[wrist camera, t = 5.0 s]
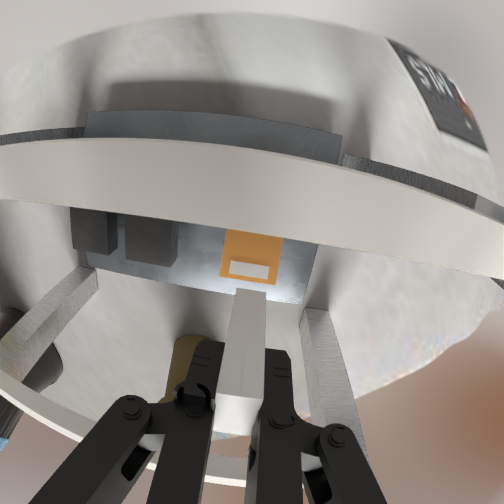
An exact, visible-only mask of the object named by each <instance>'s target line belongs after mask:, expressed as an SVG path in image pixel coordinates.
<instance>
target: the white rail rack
mask: <svg viewBox="0 0 504 504" xmlns="http://www.w3.org/2000/svg"><path fill="white" fill-rule="evenodd" d="M76 138H146V139H166V140H180V141H192V142H203V143H212V144H221V145H229V146H237V147H244V148H251V149H257V150H263V151H270V152H275V153H281V154H286V155H292V156H297V157H302V158H307V159H312V160H316V161H321V162H325V163H330V164H334V165H337V161H338V156H339V151H340V146H341V140H342V136H341V135H337V134H333V133H329V132H325V131H321V130H317V129H312V128H307V127H303V126H298V125H293V124H288V123H282V122H277V121H271V120H265V119H258V118H251V117H244V116H236V115H227V114H217V113H206V112H192V111H173V110H118V111H99V112H88V113H87V122H86V127H76V128H59V129H46V130H36V131H27V132H20V133H12V134H6V135H0V146H2V145H9V144H16V143H24V142H34V141H44V140H57V139H76ZM342 167H346V168H350V169H354V170H358V171H362V172H365V173H369V174H373V175H376V176H380V177H383V178H386V179H390V180H393V181H396V182H400V183H403V184H406V185H409V186H412V187H415V188H418V189H421V190H424V191H427V192H429V193H432V194H435V195H438V196H441V197H443V198H446V199H449V200H451V201H454V202H456V203H459V204H461V205H464V206H466V207H469V208H471V209H473V210H476V211H478V212H480V213H483V214H485V215H487V216H489V217H492V218H494V219H496V220H498V221H500V222H502V223H504V208H503V207H502V206H500V205H498V204H496V203H494V202H492V201H490V200H488V199H486V198H484V197H482V196H480V195H478V194H475V193H473V192H470V191H468V190H465V189H463V188H460V187H457V186H455V185H452V184H449V183H446V182H443V181H441V180H438V179H435V178H432V177H429V176H425V175H422V174H419V173H416V172H413V171H409V170H406V169H402V168H399V167H395V166H392V165H388V164H384V163H380V162H376V161H372V160H368V159H364V158H360V157H355V156H351V155H346V154H344V156H343V161H342ZM70 218H71V232H72V242H73V249H78V250H83V251H86V252H87V261H88V266H91V267H95V268H99V269H104V270H108V271H113V272H117V273H122V274H126V275H131V276H136V277H141V278H146V279H150V280H155V281H160V282H166V283H171V284H176V285H181V286H187V287H192V288H198V289H203V290H209V291H215V292H221V293H227V294H233V295H235V293H236V288H243V289H249V290H255V291H262V292H266V300H272V301H279V302H286V303H294V304H301V305H302V302H303V299H304V295H305V292H306V288H307V285H308V281H309V278H310V274H311V270H312V267H313V263H314V259H315V256H316V252H317V248H318V244H317V243H311V242H306V241H300V240H294V239H288V238H283V243H282V249H281V255H280V261H279V267H278V273H277V279H276V284H275V285H270V284H264V283H257V282H251V281H245V280H238V279H232V278H226V277H220V276H219V275H220V269H221V262H222V255H223V249H224V243H225V236H226V230H227V229H226V228H220V227H213V226H207V225H200V224H193V223H187V222H180V221H173V220H166V219H159V218H152V217H145V216H138V215H130V214H123V213H116V212H108V211H100V210H93V209H85V208H77V207H70ZM490 278H491V279H492V280H494V281H495V282H496V283H497V284H498V285H499V286H500V287H502V288H503V289H504V280H502V279H497V278H492V277H490ZM97 290H98V285H97V278H96V270H93V269H89V268H84V267H80V266H78V267H77V268H76V269H74V270H73V271H72V272H71V273H70V274H69V275H67V276H66V277H65V278H64V279H63V280H62V281H60V282H59V283H58V284H57V285H56V286H55V287H54V288H53V289H52V290H50V291H49V292H48V293H47V294H46V295H45V296H44V297H43V298H42V299H41V300H40V301H39V302H38V303H36V304H35V305H34V306H33V307H32V308H31V309H30V310H29V311H28V312H27V313H26V314H25V315H24V316H23V317H22V318H21V319H20V320H19V321H18V322H17V323H16V324H15V325H14V326H13V327H12V328H11V329H10V330H9V331H8V333H7V334H6V335H5V336H4V337H3V338H2V339H1V340H0V369H1V370H2V371H4V372H5V373H7V374H8V375H10V376H11V377H13V378H14V379H16V380H17V381H19V382H20V383H21V382H22V381H23V379H24V378H25V377H26V375H27V374H28V373H29V371H30V370H31V369H32V367H33V366H34V365H35V363H36V362H37V361H38V359H39V358H40V357H41V356H42V354H43V353H44V352H45V350H46V349H47V348H48V347H49V345H50V344H51V343H52V342H53V341H54V339H55V338H56V337H57V336H58V334H59V333H60V332H61V331H62V330H63V329H64V327H65V326H66V325H67V324H68V323H69V321H70V320H71V319H72V318H73V317H74V316H75V315H76V313H77V312H78V311H79V310H80V309H81V308H82V307H83V306H84V304H85V303H86V302H87V301H88V300H89V299H90V298H91V297H92V296H93V295H94V293H95V292H96V291H97ZM299 331H300V337H301V344H302V351H303V358H304V366H305V373H306V381H307V389H308V397H309V405H310V413H311V422H312V424H313V425H316V426H319V427H323V428H324V427H325V426H327V425H329V424H334V423H339V424H343V425H345V426H347V427H349V428H350V429H351V430H352V432H353V433H354V434H355V437H356V439H357V441H358V443H359V445H360V447H361V449H362V451H363V453H364V455H365V457H366V460H367V462H368V464H369V459H368V454H367V450H366V446H365V441H364V436H363V432H362V428H361V424H360V420H359V416H358V412H357V408H356V404H355V400H354V396H353V392H352V389H351V385H350V381H349V378H348V374H347V370H346V367H345V363H344V360H343V356H342V353H341V350H340V346H339V343H338V340H337V336H336V333H335V330H334V327H333V323H332V320H331V317H330V314H329V311H328V310H319V309H311V308H305V310H304V313H303V316H302V319H301V322H300V325H299ZM369 466H370V464H369Z"/></svg>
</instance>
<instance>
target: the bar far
mask: <svg viewBox="0 0 504 504" xmlns="http://www.w3.org/2000/svg"><path fill="white" fill-rule="evenodd" d="M0 395H2V396H3V397H4V398H6V399H7V400H8V401H10V402H11V403H12V404H14V405H15V406H17V407H18V408H20V409H21V410H23V411H24V412H26V413H27V414H29V415H30V416H32V417H34V418H35V419H37V420H38V421H40V422H42V423H44V424H45V425H47V426H49V427H50V428H52V429H54V430H56V431H58V432H60V433H62V434H63V435H65V436H67V437H69V438H71V439H73V440H75V441H78V442H81V441H82V440H83V438H84V437H85V436H86V435H87V434H88V433H89V431H90V430H91V429H92V428H93V427H94V426H95V424H96V423H97V422H96V421H94V420H92V419H89V418H87V417H85V416H82V415H80V414H78V413H76V412H74V411H71V410H69V409H67V408H65V407H63V406H61V405H59V404H57V403H55V402H53V401H51V400H50V399H48V398H46V397H44V396H42V395H41V394H39V393H37V392H35V391H34V390H32V389H30V388H29V387H27V386H25V385H24V384H22V383H20V382H19V381H17V380H16V379H14V378H13V377H11V376H10V375H8V374H7V373H5V372H4V371H2V370H1V369H0ZM159 455H160V451H156V453H155V454H154V456H153V457H152V459H151V460H150V462H149V463H148V465H147V466H146V468H148V469H151V470H155V469H156V466H157V462H158V458H159ZM247 465H248V459H247V458H238V457H229V456H222V455H216V454H210V453H209V456H208V461H207V467H206V473H205V479H204V482H211V483H217V484H224V485H232V486H243V487H246V477H247ZM302 487H303V488H304V486H303V483H302Z"/></svg>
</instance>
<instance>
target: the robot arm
mask: <svg viewBox="0 0 504 504" xmlns="http://www.w3.org/2000/svg"><path fill="white" fill-rule="evenodd" d="M24 315H25V314H23V313H22V312H20V311H18V310H16V309H13V308H8V309H6V310H5V311H4V312H3V313H2V314H1V315H0V340H1V339H2V338H3V337H4V336H5V335H6V334H7V333H8V331H9V330H10V329H11V328H12V327H13V326H14V325H15V324H16V323H17V322H18V321H19V320H20V319H21V318H22V317H23V316H24ZM265 328H266V292H262V291H255V290H249V289H243V288H236V293H235V298H234V303H233V308H232V313H231V318H230V323H229V328H228V333H227V338H226V343H224V342H218V341H212V340H207V339H203V340H201V341H200V342H199V343H198V344H197V345H196V347H195V350H194V354H193V357H192V360H191V364H190V366H189V369H188V373H187V376H186V379H185V381H182V382H181V383H179V384H178V385H176V387H175V389H174V390H173V394H174V400H173V401H170V402H167V403H147V401H145V400H144V399H143V398H142V397H139V396H136V395H126V396H123V397H120V398H119V399H118V400H116V401H115V402H114V404H113V405H112V406H111V407H110V408H109V409H108V411H107V412H106V413H105V414H104V415H103V416H102V417H101V419H100V420H99V421H98V422H97V423H96V424H95V426H94V427H93V428H92V429H91V430H90V431H89V433H88V434H87V435H86V436H85V437H84V438H83V440H82V441H81V442H80V443H79V444H78V446H77V447H76V448H75V449H74V450H73V451H72V453H71V454H70V455H69V456H68V457H67V458H66V460H65V461H64V462H63V463H62V464H61V466H60V467H59V468H58V469H57V470H56V471H55V473H54V474H53V475H52V476H51V478H50V479H49V480H48V481H47V482H46V483H45V484H44V486H43V487H42V488H41V489H40V490H39V491H38V493H37V494H36V495H35V496H34V497H33V499H32V500H31V501H30V502H29V503H28V504H121V503H122V502H123V500H124V499H125V497H126V496H127V494H128V493H129V491H130V490H131V489H132V487H133V486H134V484H135V483H136V481H137V480H138V478H139V477H140V475H141V474H142V472H143V471H144V469H145V468H146V466H147V465H148V463H149V462H150V460H151V459H152V457H153V456H154V454H155V453H156V451H160V455H159V458H158V462H157V466H156V469H155V473H154V476H153V480H152V484H151V487H150V491H149V495H148V498H147V502H146V504H200V503H201V497H202V491H203V485H204V479H205V473H206V467H207V461H208V456H209V449H210V444H211V436H212V431H218V432H224V433H231V434H238V435H246V436H251V433H252V436H251V444H250V446H249V449H248V451H247V456H248V465H247V477H246V489H245V500H244V504H303V487H302V483H303V486H304V489H305V492H306V495H307V498H308V501H309V504H387V502H386V500H385V498H384V496H383V493H382V491H381V489H380V487H379V485H378V483H377V481H376V479H375V476H374V474H373V472H372V470H371V468H370V466H369V464H368V462H367V460H366V457H365V455H364V453H363V451H362V449H361V447H360V445H359V443H358V441H357V439H356V437H355V434H354V433H353V432H352V430H351V429H350V428H349V427H347V426H345V425H343V424H339V423H334V424H329V425H327V426H325V427H324V428H323V427H319V426H316V425H313V424H310V423H307V422H305V421H304V420H302V419H301V418H300V417H299V416H298V415H297V413H296V411H295V409H294V401H293V385H292V371H291V359H290V358H289V356H288V354H287V353H286V351H284V350H276V349H268V348H265ZM62 371H63V366H62V362H61V359H60V357H59V355H58V353H57V351H56V349H55V348H54V346H53V345H52V343H51V344H50V345H49V347H48V348H47V349H46V350H45V352H44V353H43V354H42V356H41V357H40V358H39V359H38V361H37V362H36V363H35V365H34V366H33V367H32V369H31V370H30V371H29V373H28V374H27V375H26V377H25V378H24V379H23V381H22V382H21V383H22V384H24V385H25V386H27V387H29V388H30V389H32V390H34V391H35V392H37V393H40V392H41V391H42V390H44V389H45V388H46V387H48V386H49V385H51V384H53V383H55V382H56V381H57V380H58V378H59V377H60V375H61V374H62ZM23 413H24V411H23V410H21V409H20V408H18V407H17V406H15V405H14V404H12V403H11V402H10V401H8V400H7V399H6V398H4V397H3V396H2V395H0V451H1V450H2V449H3V447H4V446H5V444H6V443H7V442H8V441H9V440H10V436H11V434H12V432H13V431H14V429H15V427H16V425H17V424H18V422H19V420H20V418H21V417H22V415H23Z"/></svg>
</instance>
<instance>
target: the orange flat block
mask: <svg viewBox="0 0 504 504" xmlns="http://www.w3.org/2000/svg"><path fill="white" fill-rule="evenodd" d="M282 243H283V238H282V237H276V236H270V235H264V234H258V233H251V232H245V231H239V230H233V229H227V230H226V236H225V243H224V249H223V255H222V262H221V269H220V275H219V276H220V277H226V278H232V279H238V280H245V281H251V282H257V283H264V284H270V285H275V284H276V279H277V273H278V267H279V261H280V255H281V249H282Z"/></svg>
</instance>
